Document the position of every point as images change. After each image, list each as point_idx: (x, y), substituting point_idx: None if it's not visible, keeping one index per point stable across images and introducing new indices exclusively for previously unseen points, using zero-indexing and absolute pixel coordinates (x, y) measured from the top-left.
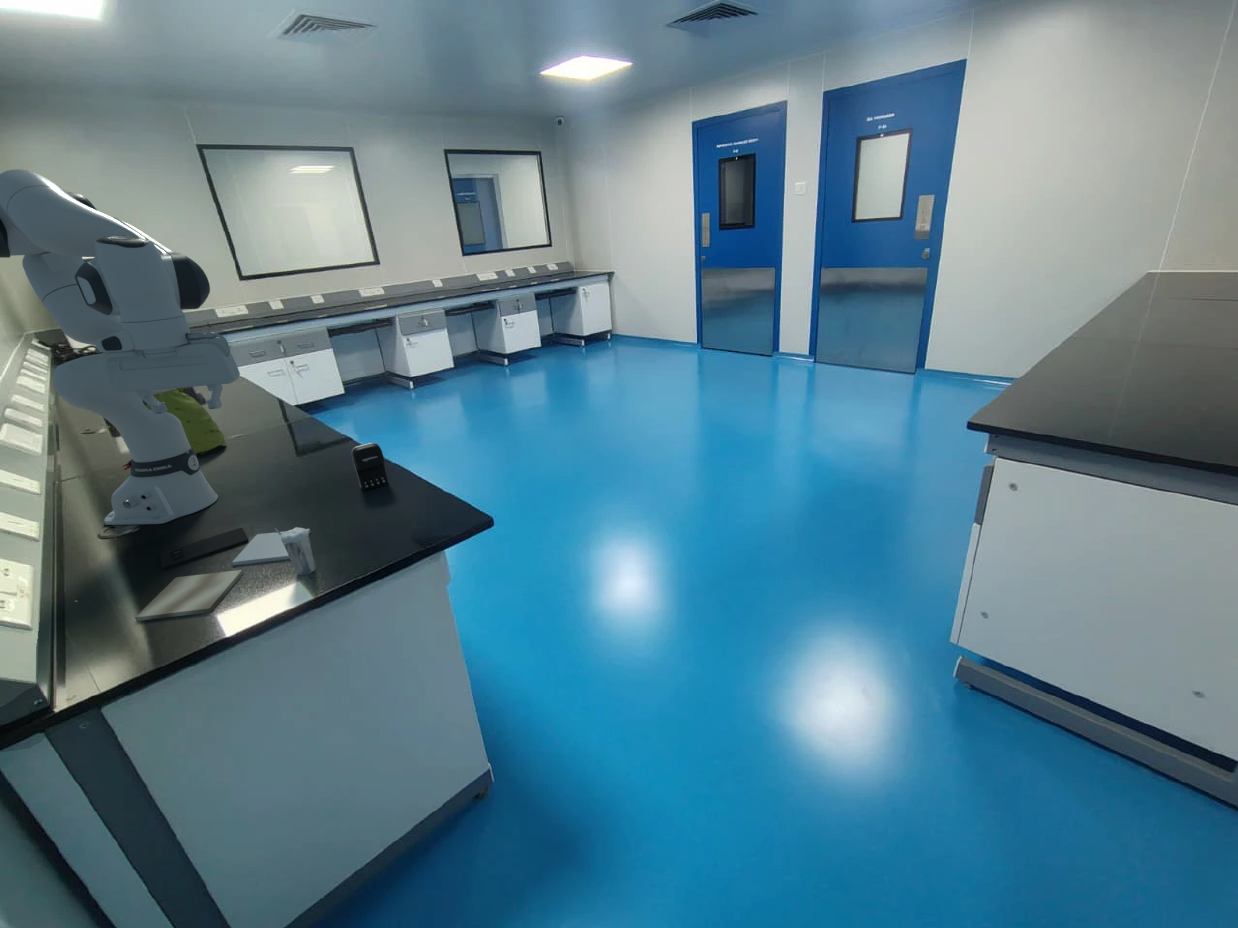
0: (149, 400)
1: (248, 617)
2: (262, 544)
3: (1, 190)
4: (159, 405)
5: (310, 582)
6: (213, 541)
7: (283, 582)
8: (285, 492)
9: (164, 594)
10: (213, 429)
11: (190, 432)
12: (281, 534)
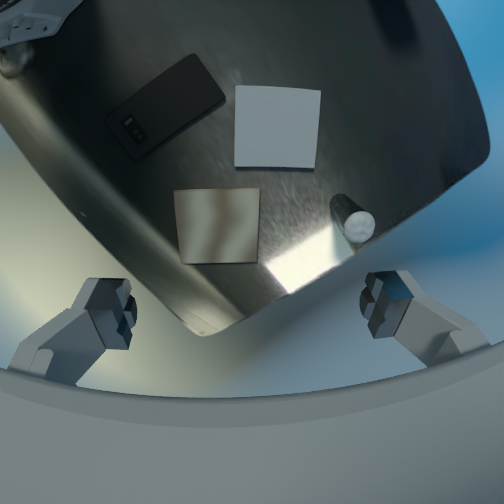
0: (86, 367)
1: (299, 272)
2: (260, 122)
3: None
4: (128, 343)
5: None
6: (168, 94)
7: (317, 220)
8: None
9: (184, 227)
10: None
11: None
12: (344, 226)
